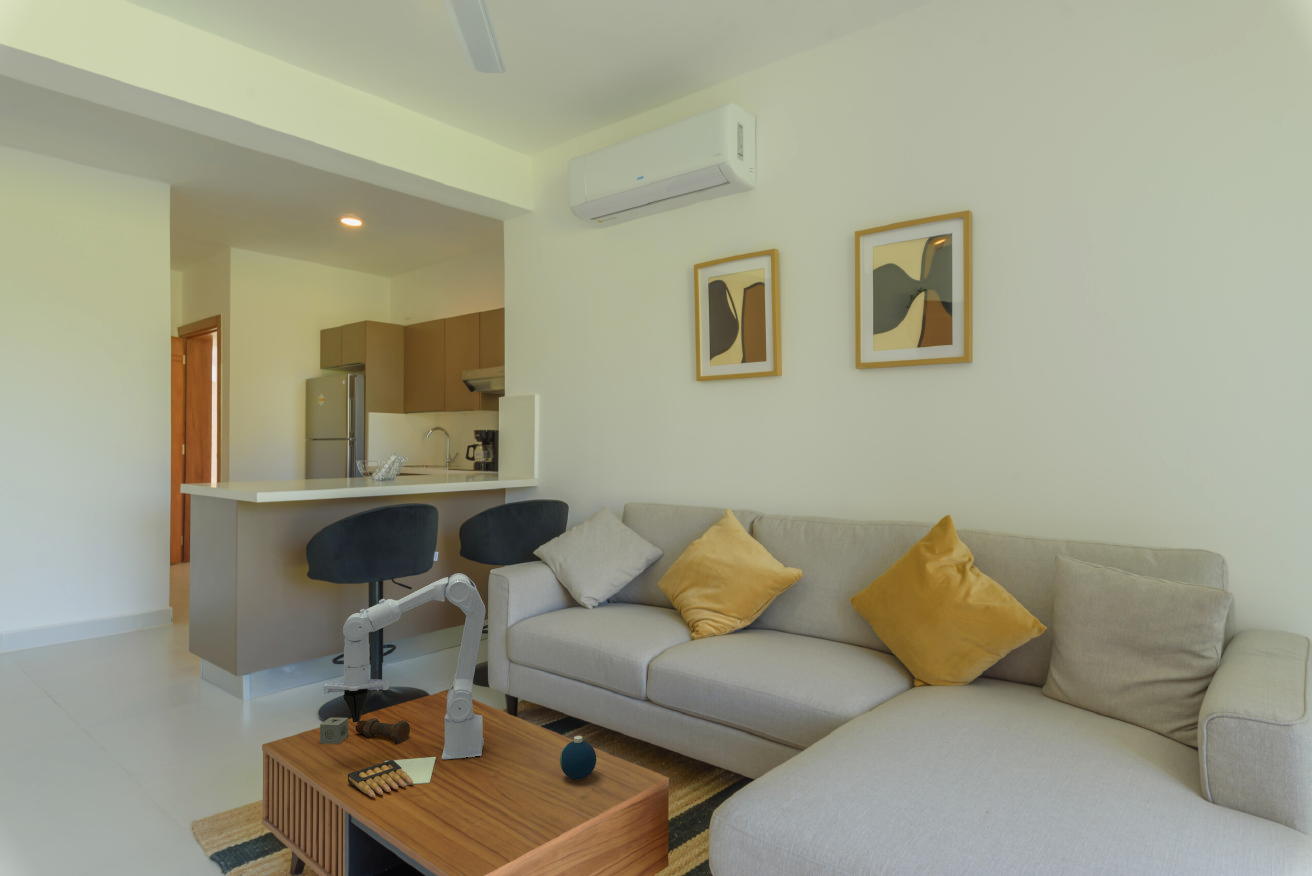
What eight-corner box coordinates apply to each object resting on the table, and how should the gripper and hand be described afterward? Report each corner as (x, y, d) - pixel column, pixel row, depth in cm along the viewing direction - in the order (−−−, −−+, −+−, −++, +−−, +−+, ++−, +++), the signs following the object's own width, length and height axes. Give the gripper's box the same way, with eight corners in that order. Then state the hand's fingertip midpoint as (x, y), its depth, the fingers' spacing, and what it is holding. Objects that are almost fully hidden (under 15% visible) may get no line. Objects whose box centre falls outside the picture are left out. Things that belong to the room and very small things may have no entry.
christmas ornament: (571, 767, 175) (571, 725, 175) (602, 773, 172) (602, 730, 172) (553, 782, 168) (553, 738, 168) (585, 788, 164) (585, 743, 164)
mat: (435, 757, 181) (435, 756, 181) (429, 782, 167) (429, 782, 167) (384, 761, 179) (384, 760, 179) (374, 787, 165) (374, 786, 165)
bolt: (361, 739, 198) (405, 745, 192) (348, 735, 194) (393, 742, 188) (368, 716, 200) (412, 722, 195) (356, 712, 196) (401, 718, 191)
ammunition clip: (347, 781, 167) (370, 802, 159) (347, 773, 167) (370, 794, 158) (392, 767, 175) (416, 786, 166) (392, 759, 175) (417, 778, 166)
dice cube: (348, 736, 195) (348, 717, 195) (338, 744, 190) (338, 724, 190) (330, 736, 195) (330, 717, 195) (320, 743, 190) (320, 724, 190)
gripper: (320, 671, 173) (320, 729, 172) (385, 667, 175) (385, 724, 175) (327, 662, 179) (327, 718, 179) (390, 659, 182) (390, 714, 182)
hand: (356, 720), depth 178 cm, fingers closed
